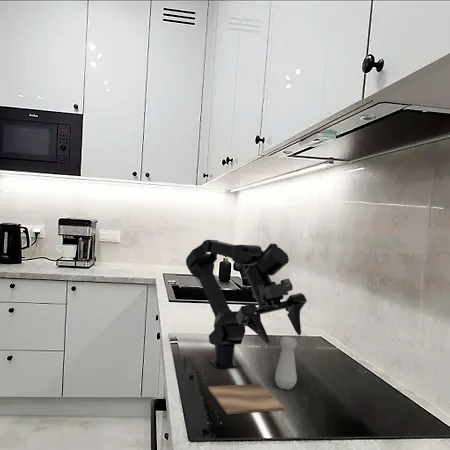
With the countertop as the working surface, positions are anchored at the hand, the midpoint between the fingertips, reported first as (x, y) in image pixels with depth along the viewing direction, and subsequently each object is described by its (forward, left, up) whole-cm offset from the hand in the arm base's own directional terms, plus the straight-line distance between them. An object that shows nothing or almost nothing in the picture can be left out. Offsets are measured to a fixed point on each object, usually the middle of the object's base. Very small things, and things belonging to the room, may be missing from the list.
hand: (284, 338), depth 105 cm
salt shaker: (-5, +4, -14) cm, 15 cm away
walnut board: (+1, -10, -14) cm, 17 cm away
